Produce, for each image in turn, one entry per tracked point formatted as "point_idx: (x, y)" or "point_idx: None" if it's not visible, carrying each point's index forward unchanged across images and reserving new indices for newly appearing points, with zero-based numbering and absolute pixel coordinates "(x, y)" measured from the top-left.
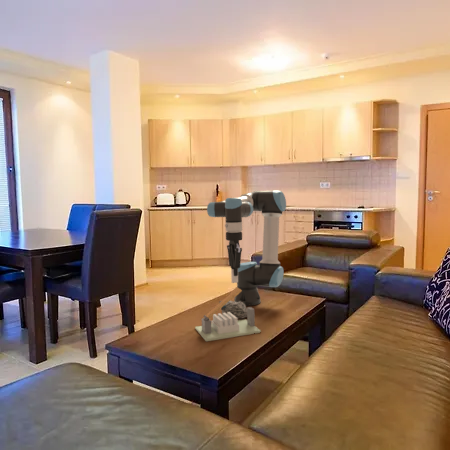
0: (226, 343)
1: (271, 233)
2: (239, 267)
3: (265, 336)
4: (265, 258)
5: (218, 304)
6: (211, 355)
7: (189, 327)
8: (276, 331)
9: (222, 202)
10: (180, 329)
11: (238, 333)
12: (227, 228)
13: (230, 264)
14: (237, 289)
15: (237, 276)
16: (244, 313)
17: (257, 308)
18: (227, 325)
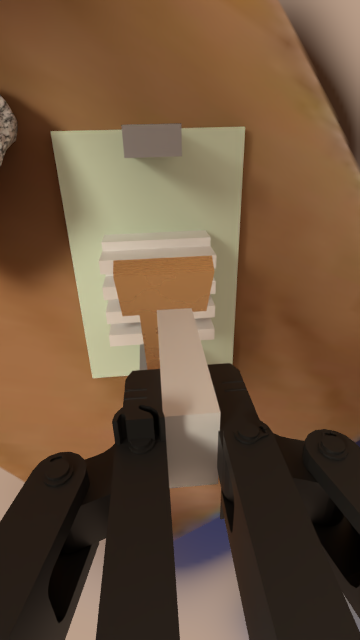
0: (279, 307)
1: None
2: (344, 443)
3: (296, 127)
4: None
5: (152, 362)
6: (337, 369)
7: (71, 388)
8: (266, 27)
9: None
10: (84, 415)
11: (233, 245)
12: None
13: (97, 542)
14: (171, 283)
15: (199, 347)
16: (15, 127)
17: None
18: (210, 295)
